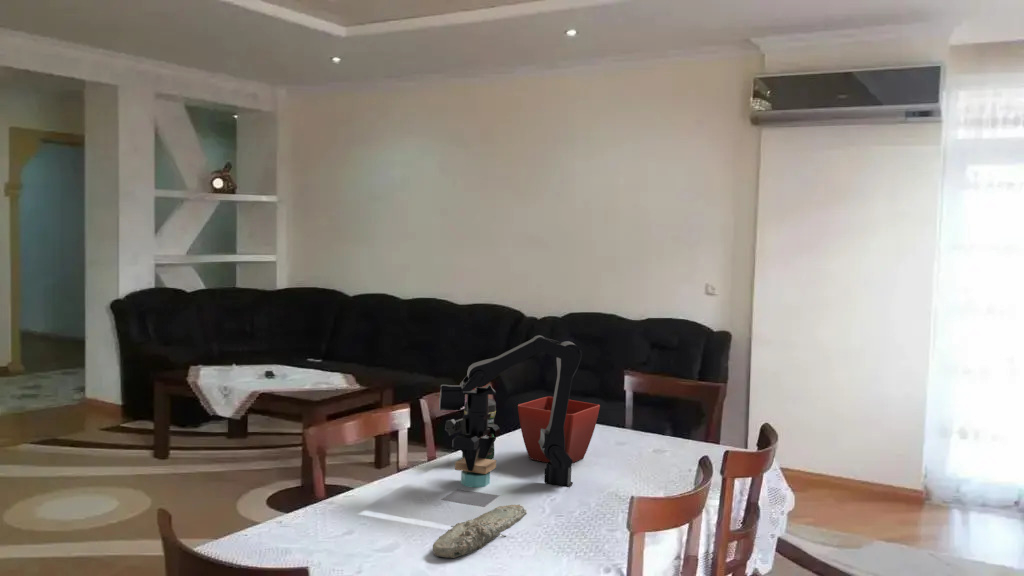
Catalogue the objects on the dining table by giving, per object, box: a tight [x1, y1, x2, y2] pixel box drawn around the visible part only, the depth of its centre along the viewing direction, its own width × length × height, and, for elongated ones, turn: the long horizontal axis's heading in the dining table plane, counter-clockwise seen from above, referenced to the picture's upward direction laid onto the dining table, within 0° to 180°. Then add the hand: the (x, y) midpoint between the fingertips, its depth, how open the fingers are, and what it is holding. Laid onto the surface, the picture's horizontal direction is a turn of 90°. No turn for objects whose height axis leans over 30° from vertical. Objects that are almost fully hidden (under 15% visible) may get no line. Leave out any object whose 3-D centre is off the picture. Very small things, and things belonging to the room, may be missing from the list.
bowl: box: [460, 470, 491, 488], centre depth 230 cm, size 7×7×4 cm
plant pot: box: [517, 396, 601, 464], centre depth 260 cm, size 19×19×17 cm
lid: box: [454, 457, 497, 474], centre depth 230 cm, size 9×7×2 cm
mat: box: [440, 488, 500, 508], centre depth 218 cm, size 12×10×1 cm
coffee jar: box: [461, 397, 497, 460], centre depth 257 cm, size 10×8×19 cm
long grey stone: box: [432, 504, 528, 559], centre depth 195 cm, size 35×5×10 cm
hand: (475, 467), depth 230 cm, fingers closed on lid, 7 cm apart
